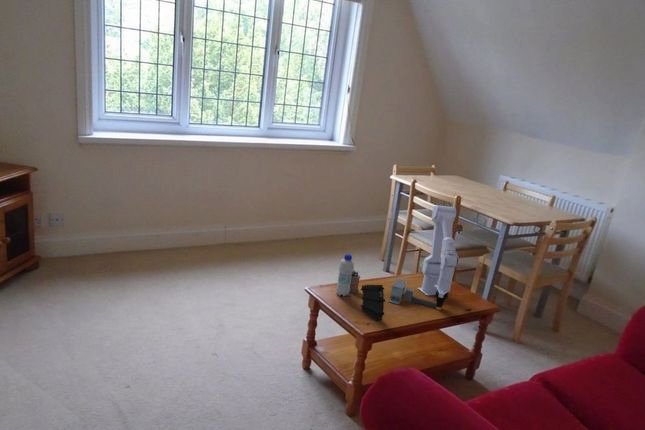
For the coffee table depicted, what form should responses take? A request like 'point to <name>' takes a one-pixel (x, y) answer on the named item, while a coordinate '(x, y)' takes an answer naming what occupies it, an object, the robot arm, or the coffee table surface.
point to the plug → (418, 299)
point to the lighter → (354, 281)
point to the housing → (397, 291)
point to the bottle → (345, 275)
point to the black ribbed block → (373, 301)
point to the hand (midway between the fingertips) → (439, 305)
